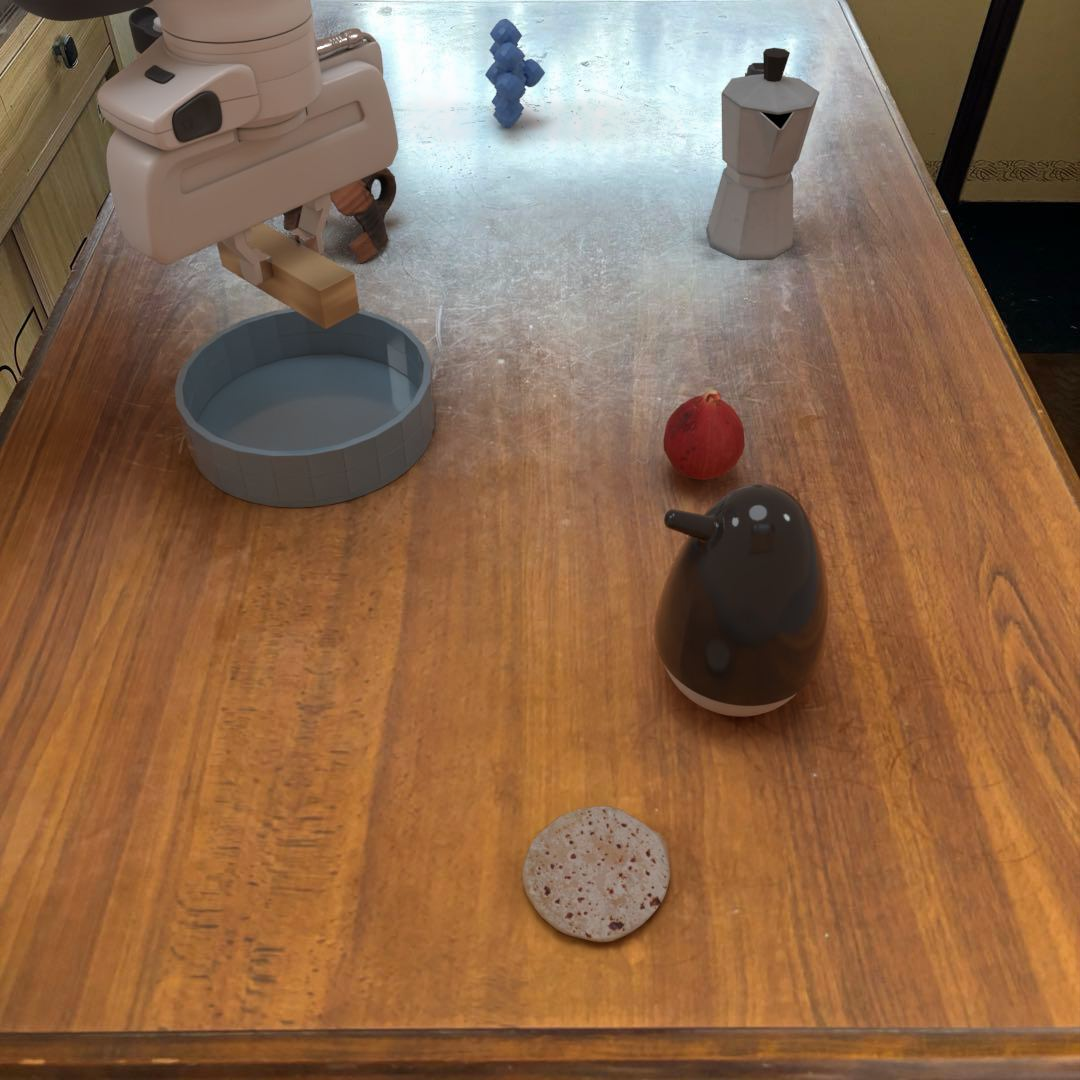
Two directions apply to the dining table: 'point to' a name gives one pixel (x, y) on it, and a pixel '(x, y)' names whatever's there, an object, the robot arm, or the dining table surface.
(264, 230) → the gold bar
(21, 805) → the dining table surface
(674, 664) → the pump dispenser
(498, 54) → the grapes
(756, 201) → the coffee maker
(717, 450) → the onion
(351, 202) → the brown wooden curved piece
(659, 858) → the flatbread
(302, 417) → the bowl
